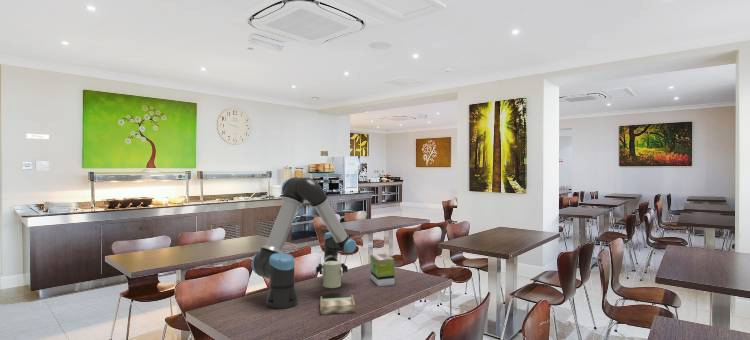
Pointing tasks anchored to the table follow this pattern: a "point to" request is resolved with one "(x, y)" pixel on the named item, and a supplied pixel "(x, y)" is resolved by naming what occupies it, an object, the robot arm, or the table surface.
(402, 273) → the table surface
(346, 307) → the tray
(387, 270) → the tea box
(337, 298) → the tailgate
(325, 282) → the can
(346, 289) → the table surface
